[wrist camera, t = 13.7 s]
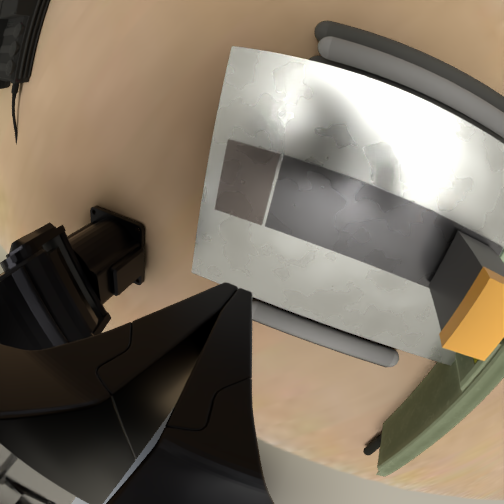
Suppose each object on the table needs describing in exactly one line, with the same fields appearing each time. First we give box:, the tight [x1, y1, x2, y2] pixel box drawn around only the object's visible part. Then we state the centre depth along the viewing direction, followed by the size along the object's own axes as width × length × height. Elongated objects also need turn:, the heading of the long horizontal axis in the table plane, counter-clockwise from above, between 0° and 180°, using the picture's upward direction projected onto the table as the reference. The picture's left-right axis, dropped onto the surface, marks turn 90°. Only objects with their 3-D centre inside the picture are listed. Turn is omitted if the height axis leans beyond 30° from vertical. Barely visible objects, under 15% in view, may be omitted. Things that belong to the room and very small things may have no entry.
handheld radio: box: [364, 338, 504, 476], centre depth 21 cm, size 7×3×25 cm
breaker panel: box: [192, 46, 504, 366], centre depth 17 cm, size 24×16×2 cm, turn 77°
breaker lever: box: [428, 231, 504, 361], centre depth 13 cm, size 3×4×6 cm
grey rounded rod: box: [252, 299, 399, 367], centre depth 21 cm, size 14×4×3 cm, turn 77°
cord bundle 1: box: [309, 21, 504, 144], centre depth 12 cm, size 14×4×3 cm, turn 77°
